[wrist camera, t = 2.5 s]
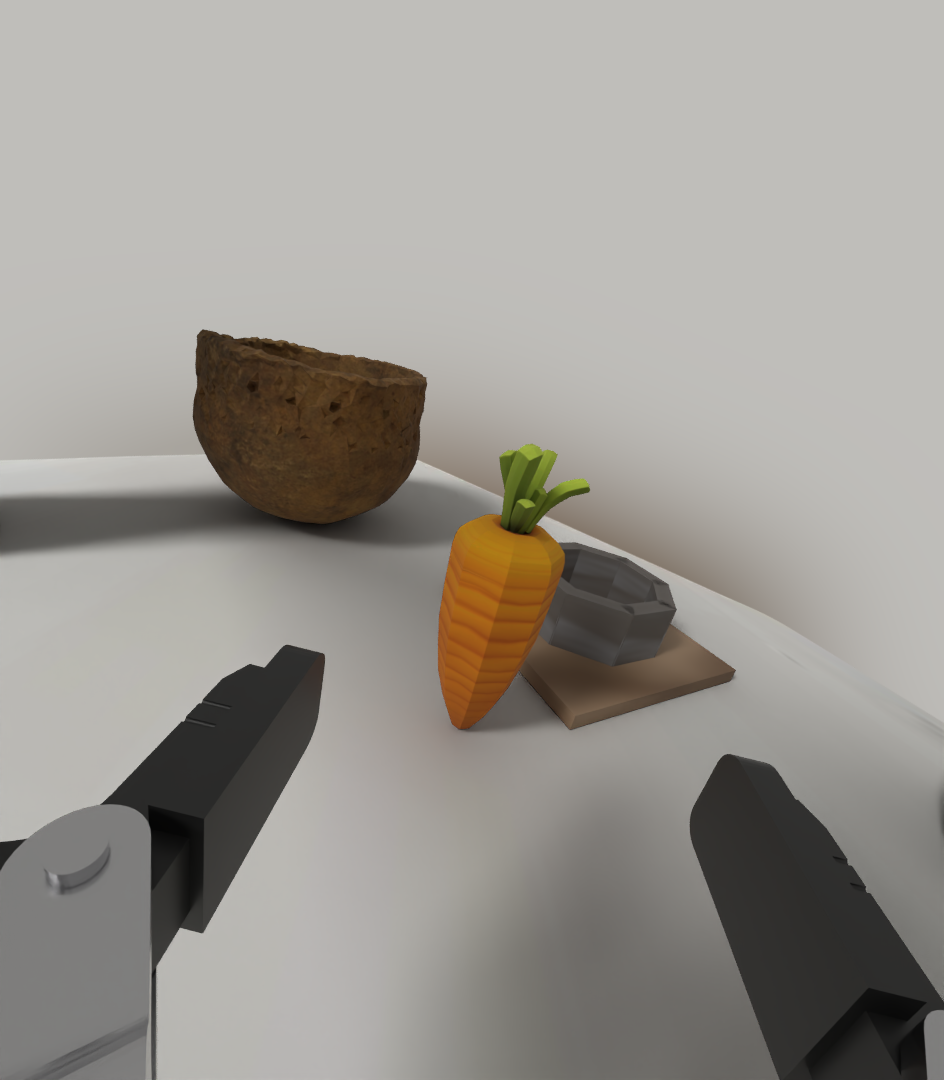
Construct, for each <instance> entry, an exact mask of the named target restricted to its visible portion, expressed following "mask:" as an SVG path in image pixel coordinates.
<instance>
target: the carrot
mask: <svg viewBox="0 0 944 1080" xmlns="http://www.w3.org/2000/svg"><path fill="white" fill-rule="evenodd" d="M556 457H557V454H556V453H555V452H554V451H550V450H545V451H543V452H542V451H541V449H540V447H538V446H536V445H533V444H528V445H525V446H523V447H522V448H520V449H519V450H518V451H513V450H508V451H506V452H505V453H503V454H502V455H501V456H500V466H501V473H502V477H503V482H504V488H505V495H504V502H503V511H502V515H495V514H489V515H484V516H482V517H479V518H477V519H474V520H472V521H470V522H468V523H466V524H464V525H463V526H461V527H460V528H459V529H458V531H457V533H456V534H455V537H454V540H453V543H452V548H451V553H450V558H449V563H448V568H447V573H446V578H445V584H444V590H443V596H442V602H441V608H440V614H439V632H438V671H439V677H440V682H441V688H442V694H443V697H444V700H445V703H446V707H447V710H448V713H449V716H450V719H451V722H452V724H453V725H454V726H455V727H457V728H458V729H467V728H470V727H471V726H472V725H474V724H475V723H476V722H478V721H479V720H480V719H481V718H483V717H484V716H485V715H486V713H487V712H488V711H489V710H490V709H491V708H492V707H493V706H494V705H495V703H496V702H497V701H498V700H499V699H500V697H501V696H502V695H503V694H504V692H505V691H506V690H507V689H508V687H509V686H510V684H511V682H512V681H513V679H514V677H515V676H516V674H517V673H518V671H519V669H520V668H521V666H522V665H523V663H524V661H525V659H526V657H527V656H528V654H529V652H530V650H531V648H532V647H533V645H534V643H535V641H536V639H537V637H538V634H539V632H540V629H541V627H542V624H543V622H544V619H545V617H546V614H547V612H548V610H549V607H550V604H551V602H552V599H553V596H554V594H555V591H556V588H557V585H558V583H559V580H560V577H561V575H562V572H563V568H564V563H565V553H564V552H563V550H562V548H561V546H560V545H559V544H558V543H557V542H556V541H555V540H554V539H553V538H552V537H551V536H550V535H549V534H548V533H547V532H546V531H545V530H544V529H543V528H542V527H541V526H538V525H536V524H537V523H538V522H539V520H540V519H541V518H542V517H543V516H544V515H545V514H546V513H547V511H549V510H550V509H551V508H552V507H554V506H555V505H557V504H558V503H560V502H562V501H563V500H565V499H567V498H569V497H571V496H575V495H580V494H584V493H588V492H589V491H590V488H589V484H588V483H587V481H586V480H585V479H575V480H570V481H566V482H563V483H561V484H559V485H558V486H557V487H555V488H554V489H552V490H551V491H549V492H548V493H546V491H545V489H544V488H543V486H544V483H545V481H546V479H547V477H548V475H549V473H550V471H551V469H552V466H553V465H554V462H555V460H556Z"/></svg>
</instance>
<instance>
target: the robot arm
mask: <svg viewBox="0 0 944 1080" xmlns="http://www.w3.org/2000/svg"><path fill="white" fill-rule="evenodd" d="M324 666H325V655H324V654H323V653H319V652H315V651H311V650H307V649H303V648H299V647H295V646H291V645H285V646H283V647H282V648H281V649H280V650H279V652H278V653H277V654H276V655H275V656H274V657H273V659H272V660H271V661H270V662H269V663H268V664H267V666H266V667H265V668H264V667H260V666H256V665H252V664H249V665H247V666H245V667H243V668H242V669H240V670H238V671H236V672H234V673H232V674H230V675H228V676H227V677H225V678H223V679H222V680H221V681H220V682H219V683H218V684H217V685H216V686H215V687H214V688H213V689H212V690H211V691H210V692H209V693H208V694H207V696H206V697H205V698H204V699H203V701H202V703H201V704H200V703H199V704H198V705H197V706H196V707H195V708H194V709H193V710H192V711H191V712H190V713H189V714H188V715H187V716H186V719H185V721H184V722H181V723H180V724H179V725H178V726H177V727H176V728H175V729H174V730H173V731H172V732H171V733H170V734H169V735H168V736H167V737H166V738H165V739H164V740H163V741H162V742H161V743H160V745H159V746H158V747H157V748H156V749H155V750H154V751H153V752H152V753H151V754H150V755H149V756H148V757H147V758H146V759H145V760H144V761H143V762H142V763H141V764H140V765H139V766H138V767H137V769H136V770H135V771H134V772H133V773H132V774H131V775H130V776H129V777H128V778H127V779H126V780H125V781H124V782H123V783H122V784H121V785H120V786H119V787H118V788H117V789H116V790H115V791H114V792H113V794H112V795H110V796H109V797H108V798H107V799H106V800H105V801H104V802H103V803H102V804H100V805H97V806H92V807H87V808H83V809H80V810H77V811H74V812H72V813H69V814H67V815H65V816H62V817H60V818H58V819H56V820H54V821H53V822H51V823H49V824H47V825H46V826H44V827H43V828H41V829H40V830H38V831H37V832H35V833H34V834H33V835H32V836H30V837H29V838H28V839H23V840H16V841H7V842H0V1080H157V965H158V963H159V961H160V960H161V958H162V956H163V955H164V953H165V951H166V950H167V948H168V946H169V945H170V943H171V941H172V940H173V938H174V936H175V935H176V933H177V932H178V930H179V928H183V929H187V930H191V931H195V932H199V933H203V932H204V930H205V929H206V927H207V925H208V923H209V921H210V920H211V918H212V916H213V914H214V913H215V911H216V909H217V907H218V905H219V904H220V902H221V900H222V898H223V896H224V895H225V893H226V891H227V889H228V888H229V886H230V884H231V882H232V880H233V879H234V877H235V875H236V873H237V871H238V870H239V868H240V866H241V864H242V863H243V861H244V859H245V857H246V855H247V854H248V852H249V850H250V848H251V846H252V845H253V843H254V841H255V839H256V838H257V836H258V834H259V832H260V830H261V829H262V827H263V825H264V823H265V821H266V820H267V818H268V816H269V814H270V813H271V811H272V809H273V807H274V805H275V804H276V802H277V800H278V798H279V796H280V795H281V793H282V791H283V789H284V788H285V786H286V784H287V782H288V780H289V779H290V777H291V775H292V773H293V771H294V770H295V768H296V766H297V764H298V763H299V761H300V759H301V757H302V755H303V754H304V752H305V750H306V748H307V746H308V744H309V742H310V740H311V737H312V735H313V732H314V729H315V726H316V723H317V718H318V713H319V706H320V698H321V690H322V682H323V674H324ZM690 835H691V840H692V844H693V847H694V850H695V852H696V855H697V858H698V860H699V863H700V866H701V868H702V871H703V874H704V877H705V879H706V882H707V885H708V887H709V890H710V893H711V895H712V898H713V901H714V904H715V906H716V909H717V912H718V914H719V917H720V920H721V922H722V925H723V928H724V931H725V933H726V936H727V939H728V941H729V944H730V947H731V949H732V952H733V955H734V958H735V960H736V963H737V966H738V968H739V971H740V974H741V977H742V979H743V982H744V985H745V987H746V990H747V993H748V995H749V998H750V1001H751V1004H752V1006H753V1009H754V1012H755V1014H756V1017H757V1020H758V1022H759V1025H760V1028H761V1031H762V1033H763V1036H764V1039H765V1041H766V1044H767V1047H768V1049H769V1052H770V1055H771V1058H772V1060H773V1063H774V1066H775V1068H776V1071H777V1074H778V1076H779V1079H780V1080H944V1002H943V1000H942V999H941V997H940V996H939V994H938V993H937V991H936V990H935V988H934V987H933V985H932V984H931V982H930V981H929V979H928V978H927V976H926V975H925V974H924V972H923V971H922V969H921V968H920V966H919V965H918V963H917V962H916V960H915V959H914V957H913V956H912V954H911V953H910V951H909V950H908V948H907V947H906V945H905V944H904V942H903V941H902V939H901V938H900V937H899V935H898V934H897V932H896V931H895V929H894V928H893V926H892V925H891V923H890V922H889V920H888V919H887V917H886V916H885V914H884V913H883V911H882V910H881V908H880V907H879V905H878V904H877V902H876V901H875V900H874V898H873V897H872V895H871V894H870V893H867V892H866V890H865V887H866V886H865V885H864V883H863V882H862V880H861V879H860V877H859V876H858V874H857V873H856V871H855V870H854V868H853V867H852V866H849V865H848V864H847V858H846V857H845V855H844V854H843V852H842V851H841V849H840V848H839V846H838V845H837V843H836V842H835V840H834V839H833V837H832V836H831V834H830V833H829V831H828V830H827V829H826V828H825V827H824V826H823V825H822V824H821V822H820V821H819V820H818V819H817V818H816V817H815V816H814V815H813V814H812V813H811V812H810V811H809V810H808V809H807V808H806V807H805V806H804V805H803V804H802V803H801V802H800V801H799V800H796V799H795V798H794V796H793V795H792V793H791V792H790V790H789V789H788V787H787V786H786V784H785V783H784V781H783V779H782V778H781V776H780V775H779V773H778V772H777V771H776V769H775V768H774V767H773V766H771V765H770V764H767V763H764V762H760V761H755V760H751V759H747V758H743V757H739V756H735V755H731V754H727V755H724V756H722V757H721V758H720V760H719V761H718V763H717V765H716V767H715V768H714V770H713V772H712V774H711V776H710V778H709V779H708V781H707V783H706V785H705V787H704V788H703V790H702V792H701V794H700V796H699V798H698V799H697V801H696V803H695V805H694V807H693V809H692V812H691V817H690Z"/></svg>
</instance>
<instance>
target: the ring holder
mask: <svg viewBox="0 0 944 1080" xmlns="http://www.w3.org/2000/svg"><path fill="white" fill-rule="evenodd" d="M558 544H559V545H560V546H561V548H562V550H563V552H564V553H565V563H564V568H563V572H562V575H561V577H560V580H559V583H558V585H557V588H556V591H555V594H554V596H553V599H552V602H551V604H550V607H549V610H548V612H547V614H546V617H545V619H544V622H543V624H542V627H541V629H540V632H539V634H538V637H537V639H536V641H535V643H534V645H533V647H532V648H531V650H530V652H529V654H528V656H527V657H526V659H525V661H524V663H523V665H522V666H521V668H520V669H519V671H520V672H521V674H522V675H523V676H524V677H525V678H526V679H527V680H528V682H529V683H530V684H531V685H532V686H533V687H534V689H535V690H536V691H537V692H538V693H539V694H540V696H541V697H542V698H543V699H544V700H545V701H546V703H547V704H548V705H549V706H550V707H551V708H552V710H553V711H554V712H555V713H556V714H557V715H558V717H559V718H560V719H561V720H562V721H563V722H564V723H565V725H566V726H567V727H568V728H569V729H570V730H571V729H574V728H577V727H581V726H584V725H587V724H591V723H594V722H597V721H600V720H604V719H607V718H610V717H614V716H617V715H620V714H623V713H627V712H630V711H633V710H637V709H640V708H643V707H646V706H650V705H653V704H656V703H659V702H663V701H666V700H669V699H673V698H676V697H679V696H682V695H686V694H689V693H692V692H696V691H699V690H702V689H705V688H709V687H712V686H715V685H719V684H722V683H725V682H728V681H730V680H731V678H732V676H733V675H734V673H735V671H736V670H735V669H734V668H732V667H731V666H729V665H728V664H726V663H725V662H724V661H722V660H721V659H719V658H718V657H716V656H715V655H714V654H712V653H711V652H709V651H708V650H707V649H705V648H704V647H702V646H701V645H699V644H698V643H697V642H695V641H694V640H692V639H691V638H690V637H688V636H687V635H685V634H684V633H682V632H681V631H680V630H678V629H677V628H675V627H674V626H672V625H671V624H670V623H671V621H672V619H673V617H674V614H675V612H676V610H677V609H676V607H675V604H674V601H673V598H672V595H671V592H670V589H669V584H667V583H665V582H664V581H662V580H661V579H659V578H657V577H656V576H654V575H653V574H651V573H649V572H648V571H646V570H645V569H643V568H641V567H640V566H638V565H637V564H635V563H633V562H632V561H630V560H629V559H627V558H624V557H621V556H618V555H615V554H611V553H608V552H605V551H602V550H598V549H595V548H592V547H589V546H585V545H582V544H579V543H576V542H575V543H558ZM444 584H445V583H444Z"/></svg>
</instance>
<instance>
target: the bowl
mask: <svg viewBox="0 0 944 1080" xmlns="http://www.w3.org/2000/svg"><path fill="white" fill-rule="evenodd" d="M195 365H196V375H197V390H196V394H195V398H194V407H193V420H194V426H195V431H196V433H197V436H198V439H199V442H200V444H201V445H202V448H203V450H204V452H205V454H206V456H207V458H208V460H209V461H210V463H211V465H212V466H213V468H214V469H215V471H216V472H217V474H218V475H219V477H220V478H221V480H222V481H223V482H224V483H225V484H226V485H227V486H228V487H229V488H230V489H231V490H232V491H233V492H235V493H236V494H237V495H239V496H240V497H241V498H242V499H244V500H245V501H246V502H247V503H249V504H250V505H252V506H253V507H255V508H257V509H259V510H261V511H264V512H266V513H269V514H272V515H274V516H277V517H281V518H285V519H290V520H295V521H300V522H307V523H316V524H328V523H332V522H337V521H340V520H343V519H346V518H350V517H353V516H356V515H359V514H361V513H364V512H366V511H369V510H371V509H373V508H376V507H378V506H380V505H381V504H383V503H384V502H386V501H387V500H388V499H389V498H390V497H391V496H392V495H393V494H394V493H395V492H396V491H397V490H398V488H399V487H400V486H401V485H402V484H403V483H404V481H405V480H406V479H407V478H408V476H409V475H410V473H411V471H412V469H413V467H414V465H415V464H416V460H417V456H418V452H419V445H420V427H419V425H420V420H421V416H422V413H423V411H424V402H425V391H426V387H427V382H426V377H423V375H422V374H420V373H419V372H416V371H414V370H411V369H407V368H405V367H402V366H398V365H395V364H391V363H388V362H381V361H379V360H370V359H368V358H365V357H358V358H356V357H355V356H354V355H338V354H334V353H324V352H321V351H319V350H317V349H315V348H309V347H305V346H298V345H297V344H295V343H291V344H289V343H288V342H287V341H284V340H279V341H273V340H272V339H267V338H265V339H259V338H258V337H251V338H241V339H234V338H233V337H231V336H229V335H225V334H222V335H219V334H218V333H217V332H213V331H208V330H202V331H201V332H200V333H199V334H198V335H197V348H196V364H195Z"/></svg>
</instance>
